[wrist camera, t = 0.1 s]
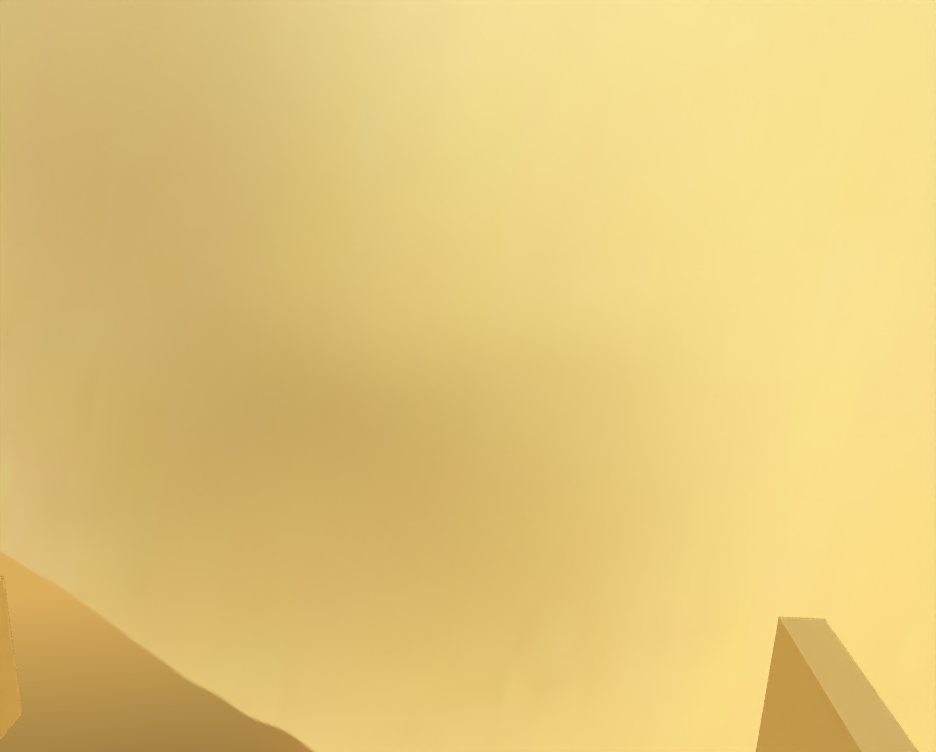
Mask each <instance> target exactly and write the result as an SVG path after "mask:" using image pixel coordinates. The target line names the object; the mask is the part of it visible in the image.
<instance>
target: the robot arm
mask: <svg viewBox="0 0 936 752" xmlns="http://www.w3.org/2000/svg"><path fill="white" fill-rule="evenodd" d="M21 714H22V708H21V700H20V693H19V685H18V678H17V671H16V663H15V656H14V649H13V642H12V635H11V627H10V619H9V612H8V605H7V597H6V590H5V583H4V577H3V576H0V739H1V738H2V737H3V735H4V734H5V733H6V732H7V731H8V729H9V728H10V727H11V726H12V725H13V723H14V722H15V721H16V720H17V719H18V717H19V716H20V715H21ZM756 752H918V750H917V749H916V747H915V746H914V745H913V743H912V742H911V740H910V739H909V737H908V736H907V735H906V733H905V732H904V730H903V729H902V728H901V726H900V725H899V723H898V722H897V720H896V719H895V718H894V716H893V715H892V713H891V712H890V711H889V709H888V708H887V706H886V705H885V703H884V702H883V701H882V699H881V698H880V696H879V695H878V694H877V692H876V691H875V689H874V688H873V686H872V685H871V684H870V682H869V681H868V679H867V678H866V677H865V675H864V674H863V672H862V671H861V669H860V668H859V667H858V665H857V664H856V662H855V661H854V660H853V658H852V657H851V655H850V654H849V652H848V651H847V650H846V648H845V647H844V645H843V644H842V643H841V641H840V640H839V638H838V637H837V635H836V634H835V633H834V631H833V630H832V628H831V627H830V626H829V624H828V623H827V621H826V620H825V619H814V618H795V617H779V619H778V625H777V631H776V637H775V642H774V648H773V654H772V660H771V666H770V672H769V678H768V684H767V689H766V695H765V701H764V707H763V713H762V719H761V725H760V730H759V736H758V742H757V748H756Z"/></svg>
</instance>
